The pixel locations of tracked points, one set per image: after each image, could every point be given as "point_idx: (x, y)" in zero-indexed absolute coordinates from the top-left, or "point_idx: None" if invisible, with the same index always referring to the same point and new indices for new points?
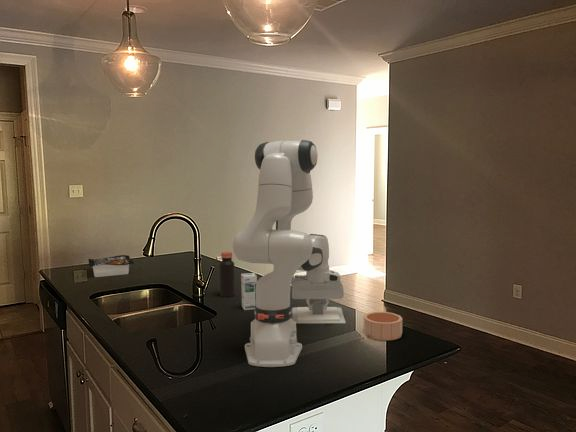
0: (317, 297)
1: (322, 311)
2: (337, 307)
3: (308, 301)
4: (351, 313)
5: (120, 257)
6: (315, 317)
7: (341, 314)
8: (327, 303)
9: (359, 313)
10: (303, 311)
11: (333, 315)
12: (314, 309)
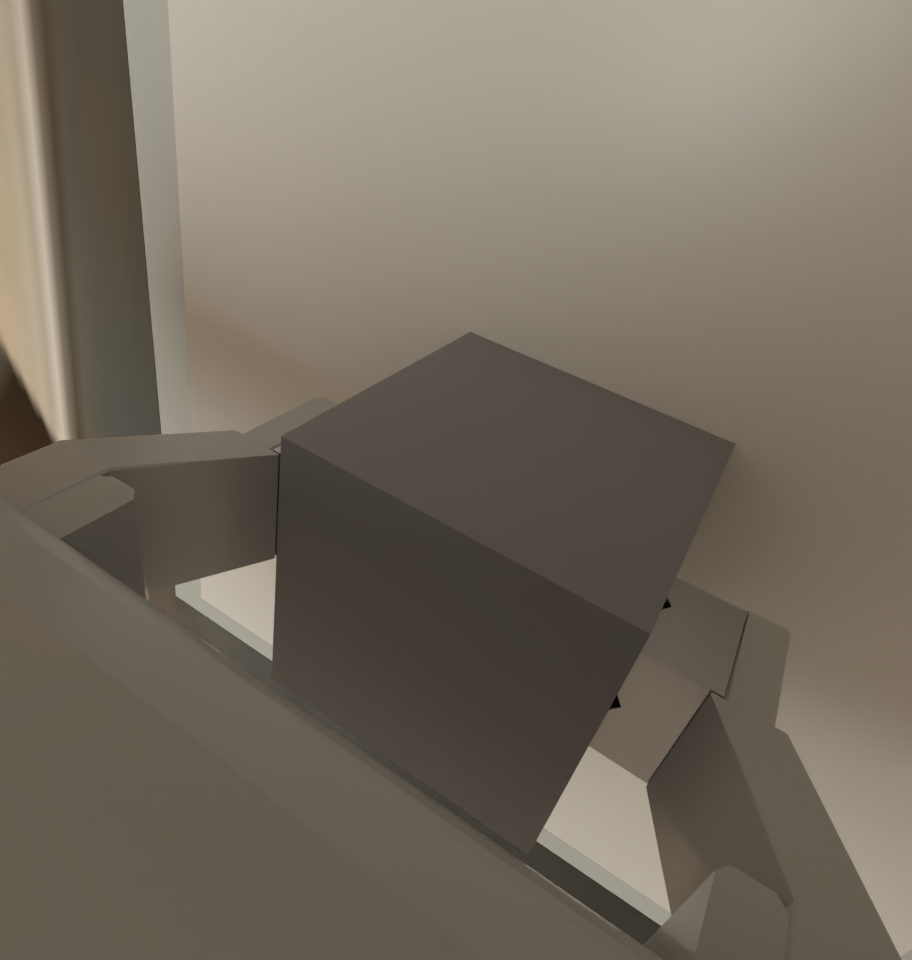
0: (240, 768)
1: (441, 362)
2: (209, 615)
3: (779, 907)
4: (101, 393)
5: None
6: (808, 105)
7: (170, 302)
8: (160, 449)
9: (29, 350)
10: (851, 765)
11: (270, 158)
12: (644, 487)
